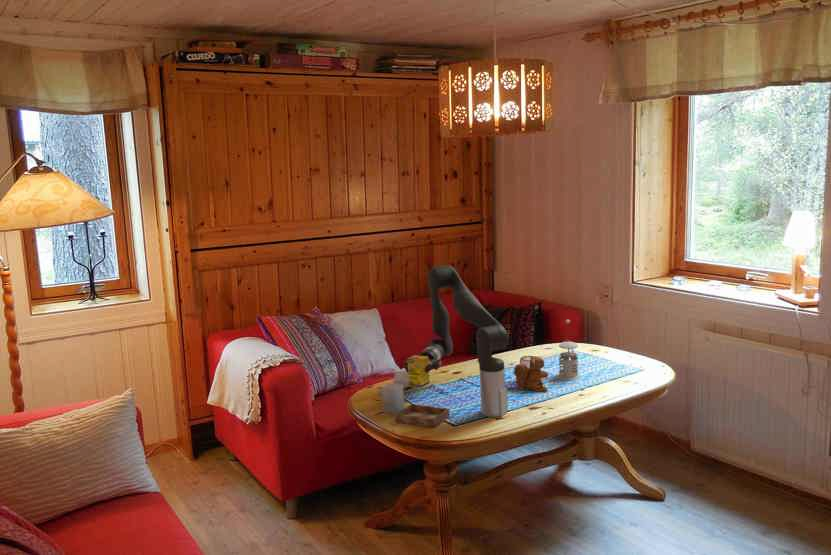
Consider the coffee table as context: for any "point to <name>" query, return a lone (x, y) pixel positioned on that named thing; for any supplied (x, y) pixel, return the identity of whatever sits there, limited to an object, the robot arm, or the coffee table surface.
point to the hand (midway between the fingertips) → (416, 369)
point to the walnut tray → (423, 415)
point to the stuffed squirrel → (531, 375)
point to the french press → (568, 366)
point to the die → (401, 378)
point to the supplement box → (418, 371)
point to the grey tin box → (392, 398)
